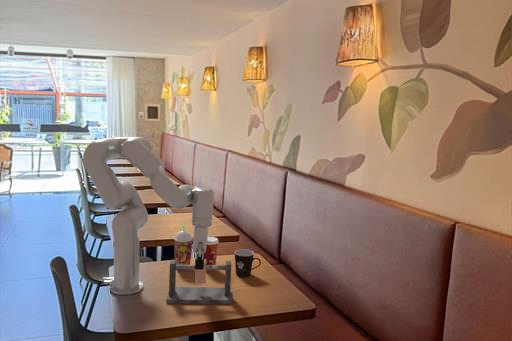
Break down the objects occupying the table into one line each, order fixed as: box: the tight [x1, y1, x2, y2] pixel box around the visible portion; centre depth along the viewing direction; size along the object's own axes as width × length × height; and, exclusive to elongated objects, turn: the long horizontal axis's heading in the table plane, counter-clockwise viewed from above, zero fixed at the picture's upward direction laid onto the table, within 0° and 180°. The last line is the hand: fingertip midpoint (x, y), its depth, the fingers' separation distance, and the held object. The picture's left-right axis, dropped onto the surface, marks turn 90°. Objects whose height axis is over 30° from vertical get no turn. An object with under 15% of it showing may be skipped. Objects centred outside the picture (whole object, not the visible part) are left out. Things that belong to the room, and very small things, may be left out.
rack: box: [166, 259, 232, 305], centre depth 164 cm, size 24×11×14 cm, turn 95°
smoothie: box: [173, 223, 193, 271], centre depth 192 cm, size 8×8×20 cm
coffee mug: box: [234, 248, 262, 278], centre depth 188 cm, size 12×9×10 cm
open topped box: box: [194, 259, 207, 284], centre depth 164 cm, size 4×5×8 cm
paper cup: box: [204, 236, 219, 272], centre depth 193 cm, size 8×8×14 cm
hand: (199, 264), depth 163 cm, fingers open, 9 cm apart
